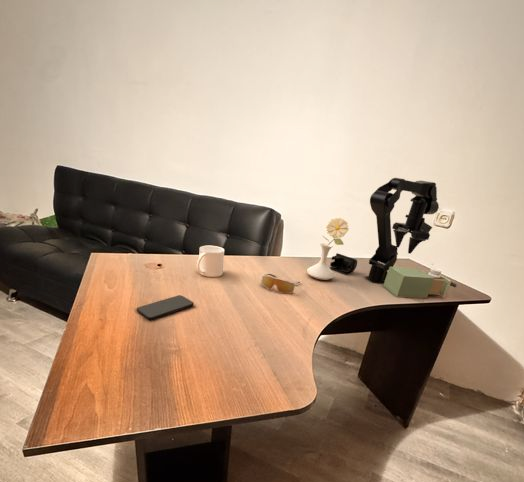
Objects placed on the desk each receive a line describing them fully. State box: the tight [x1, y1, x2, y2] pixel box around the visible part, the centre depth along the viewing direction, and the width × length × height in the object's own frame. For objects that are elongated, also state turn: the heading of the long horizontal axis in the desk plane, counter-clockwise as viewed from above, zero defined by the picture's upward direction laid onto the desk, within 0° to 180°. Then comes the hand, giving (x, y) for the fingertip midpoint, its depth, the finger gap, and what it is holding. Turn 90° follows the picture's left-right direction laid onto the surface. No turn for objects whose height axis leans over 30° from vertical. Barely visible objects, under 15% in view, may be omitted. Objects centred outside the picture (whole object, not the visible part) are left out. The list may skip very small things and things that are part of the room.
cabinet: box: [382, 266, 435, 299], centre depth 123 cm, size 14×11×9 cm
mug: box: [195, 245, 225, 278], centre depth 113 cm, size 12×9×9 cm
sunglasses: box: [261, 273, 302, 294], centre depth 113 cm, size 14×15×5 cm
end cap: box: [329, 252, 358, 276], centre depth 138 cm, size 10×7×7 cm
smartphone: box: [136, 294, 195, 321], centre depth 87 cm, size 7×1×15 cm
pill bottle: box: [427, 267, 442, 279], centre depth 124 cm, size 5×5×8 cm
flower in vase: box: [306, 217, 349, 281], centre depth 121 cm, size 13×11×25 cm
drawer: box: [426, 272, 457, 297], centre depth 126 cm, size 17×9×7 cm, turn 100°
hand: (403, 250), depth 134 cm, fingers open, 9 cm apart
